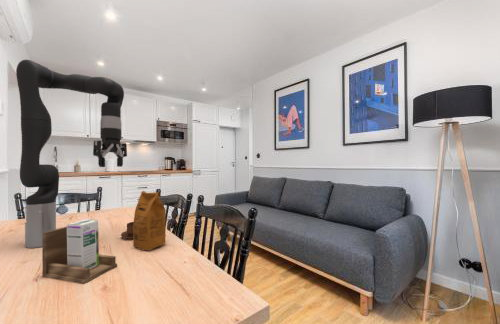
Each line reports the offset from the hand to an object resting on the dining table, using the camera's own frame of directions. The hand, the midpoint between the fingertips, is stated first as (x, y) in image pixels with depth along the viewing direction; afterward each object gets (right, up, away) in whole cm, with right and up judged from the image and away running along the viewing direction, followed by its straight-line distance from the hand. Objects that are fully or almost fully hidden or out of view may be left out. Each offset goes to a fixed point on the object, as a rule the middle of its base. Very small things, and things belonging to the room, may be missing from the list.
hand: (111, 166), depth 95 cm
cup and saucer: (+6, -33, +9) cm, 34 cm away
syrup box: (+7, -31, -25) cm, 40 cm away
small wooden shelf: (+6, -32, -25) cm, 41 cm away
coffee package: (+17, -32, -3) cm, 37 cm away
